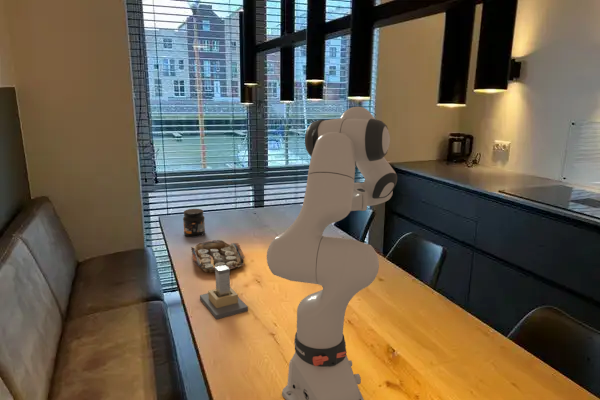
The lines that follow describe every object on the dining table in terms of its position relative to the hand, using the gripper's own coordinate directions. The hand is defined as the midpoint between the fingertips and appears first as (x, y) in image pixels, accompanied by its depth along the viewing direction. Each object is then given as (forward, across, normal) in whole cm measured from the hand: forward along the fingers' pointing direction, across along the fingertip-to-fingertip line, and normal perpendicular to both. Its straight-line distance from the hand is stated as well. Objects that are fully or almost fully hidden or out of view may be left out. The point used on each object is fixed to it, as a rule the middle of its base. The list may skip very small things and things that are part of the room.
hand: (317, 200), depth 143 cm
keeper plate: (+29, -13, +36) cm, 48 cm away
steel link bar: (+29, -13, +34) cm, 47 cm away
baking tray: (+17, -50, +36) cm, 64 cm away
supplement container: (+14, -91, +36) cm, 99 cm away
